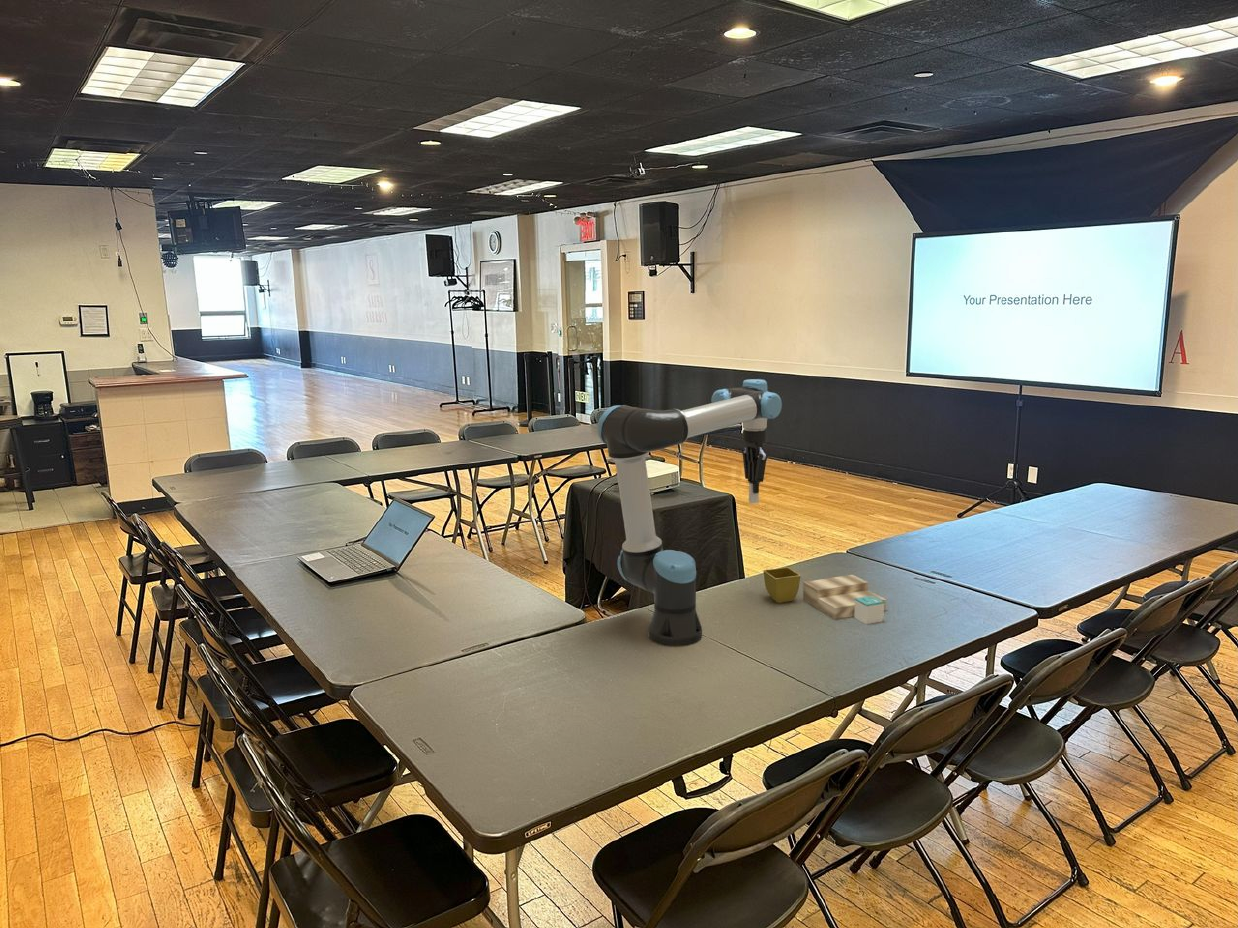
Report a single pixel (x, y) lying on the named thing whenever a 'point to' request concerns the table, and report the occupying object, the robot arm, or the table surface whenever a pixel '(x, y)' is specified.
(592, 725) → the table surface
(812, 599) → the beech steps
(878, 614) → the cream block
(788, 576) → the flower pot
